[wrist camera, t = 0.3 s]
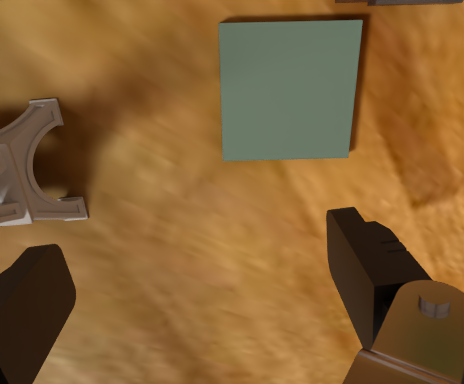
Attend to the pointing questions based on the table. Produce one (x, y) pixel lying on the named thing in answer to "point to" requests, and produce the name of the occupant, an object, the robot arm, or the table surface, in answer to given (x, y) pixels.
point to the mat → (288, 88)
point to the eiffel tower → (30, 169)
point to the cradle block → (400, 2)
